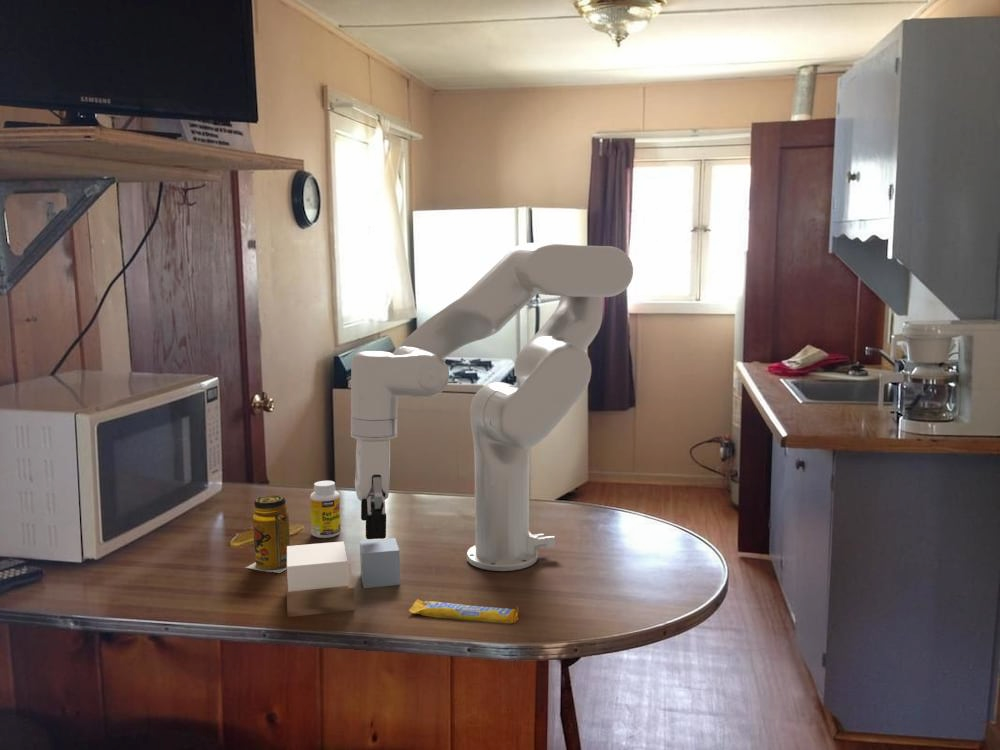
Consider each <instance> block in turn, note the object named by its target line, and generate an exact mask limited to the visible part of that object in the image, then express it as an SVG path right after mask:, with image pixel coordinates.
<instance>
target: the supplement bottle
mask: <svg viewBox="0 0 1000 750" xmlns="http://www.w3.org/2000/svg"><path fill="white" fill-rule="evenodd" d="M309 498H310V499H309V500H310V502H309V503H310V504H309V505H310V531H311V535H312V537H315V538H319V539H329V538H333V537H336V536H338V535H339V534H340V533H341V502H340V501H341V499H340V498H341V497H340V492H338V491H337V490H336V483H335V481H333V480H321V481H320V480H319V481H316V482H314V483H313V492H312V493H311V494H310V497H309Z"/></svg>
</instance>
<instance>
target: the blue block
mask: <svg viewBox="0 0 1000 750" xmlns="http://www.w3.org/2000/svg"><path fill="white" fill-rule="evenodd" d="M359 557H360V558H359V559H360V560H359V562H360V565H359V566H360V579H361V583H362V588H363V589H367V588H368V589H369V588H378V587H389V586H398V585H399V586H400V585H401V567H400V566H401V563H400V558H401V557H400V548H399V545H398V543H397V538H396V537H392V538H391V537H390V538H384V539H366V540H359Z"/></svg>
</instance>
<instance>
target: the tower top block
mask: <svg viewBox="0 0 1000 750" xmlns="http://www.w3.org/2000/svg"><path fill="white" fill-rule="evenodd" d="M348 564H349V563H348V558H347V551H346V547H345V541H344V540H343V541H333V542H321V543H320V542H319V543H310V544H309V543H308V544H298V545H290V546H287V569H286V573H287V574H286V575H287V577H286V581H287V580H288V592H291V591H302V590H312V589H322V588H332V587H342V586H348Z"/></svg>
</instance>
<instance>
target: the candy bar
mask: <svg viewBox="0 0 1000 750" xmlns="http://www.w3.org/2000/svg"><path fill="white" fill-rule="evenodd" d="M408 612H410V614H415V615H416V614H417V615H421V616H425V617H431V618H432V617H433V618H443V619H449V620H451V619H453V620H464V621H476V622H484V623H485V622H486V623H497V624H507V625H508V624H509V625H510V624H511V625H512V624H516V622H517V621H518V620H519V607H518V606H516V608H507V607H505V608H504V607H495V606H494V607H493V606H492V607H491V606H480V605H479V606H478V605H477V606H476V605H469V604H468V605H467V604H461V603H451V602H441V601H433V600H432V601H430V600H429V601H428V600H425V601H422V600H420V599H418V598H417V599H416V600H415V601H414V602H413V604H412V605H411V607H410V608H409V609H408Z"/></svg>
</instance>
